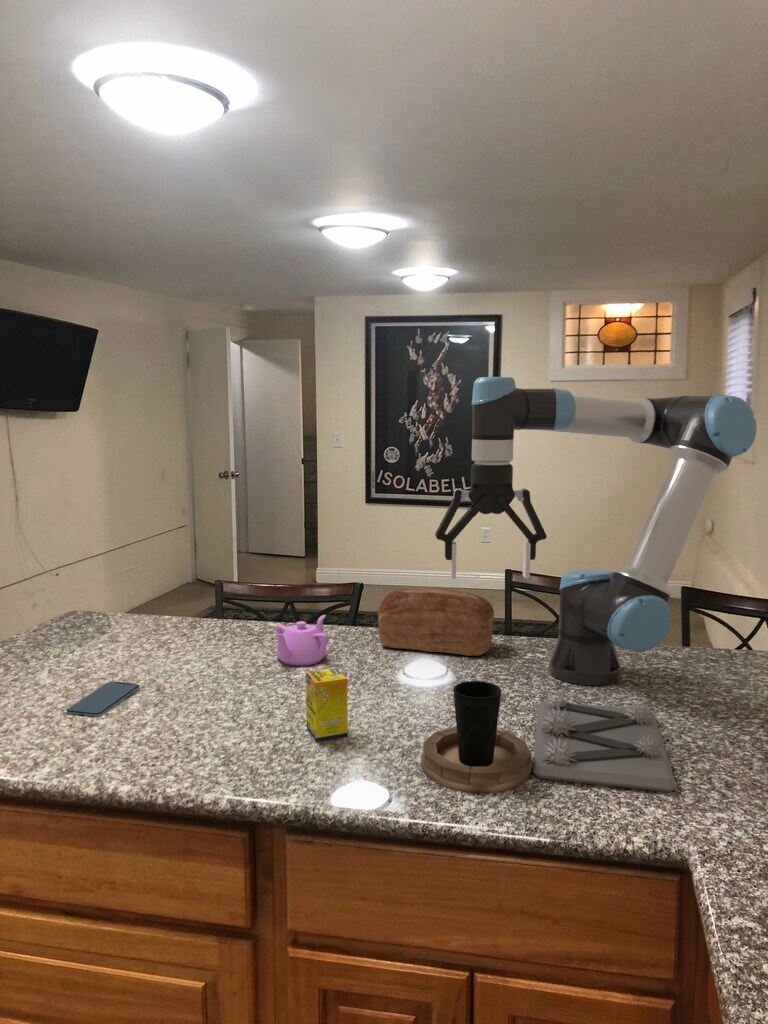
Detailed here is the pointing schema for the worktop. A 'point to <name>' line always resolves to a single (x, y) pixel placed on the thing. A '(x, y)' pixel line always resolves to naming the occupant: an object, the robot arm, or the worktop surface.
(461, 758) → the cup
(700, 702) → the worktop surface
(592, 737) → the grey board with spikes
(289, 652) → the teapot
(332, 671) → the supplement box
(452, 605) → the bread
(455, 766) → the round tray
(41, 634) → the worktop surface
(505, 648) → the worktop surface
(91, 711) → the smartphone
